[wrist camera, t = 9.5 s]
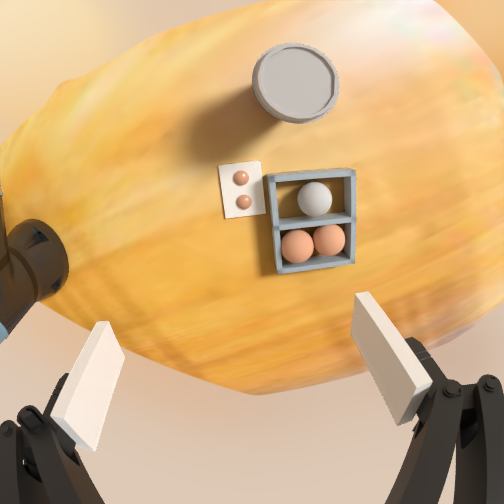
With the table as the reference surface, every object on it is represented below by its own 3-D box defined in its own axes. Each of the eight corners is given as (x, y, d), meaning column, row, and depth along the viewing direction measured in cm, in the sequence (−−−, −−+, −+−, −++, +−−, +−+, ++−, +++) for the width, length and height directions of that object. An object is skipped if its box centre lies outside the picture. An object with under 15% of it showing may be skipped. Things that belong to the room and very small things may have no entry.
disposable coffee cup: (291, 138, 38) (313, 140, 27) (234, 103, 36) (234, 91, 25) (325, 88, 36) (358, 74, 25) (270, 52, 33) (284, 24, 22)
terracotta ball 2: (306, 253, 45) (323, 261, 40) (306, 222, 43) (323, 226, 39) (333, 250, 46) (351, 257, 41) (333, 220, 45) (352, 224, 40)
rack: (274, 265, 46) (277, 274, 44) (266, 173, 40) (269, 176, 38) (348, 255, 46) (354, 263, 44) (348, 167, 41) (355, 170, 38)
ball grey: (295, 212, 43) (302, 223, 38) (293, 180, 41) (300, 187, 36) (326, 209, 43) (337, 219, 38) (325, 178, 41) (336, 184, 36)
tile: (225, 218, 43) (225, 219, 42) (218, 165, 39) (218, 165, 39) (265, 213, 43) (266, 214, 42) (260, 160, 40) (260, 160, 39)
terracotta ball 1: (280, 258, 46) (282, 269, 41) (278, 227, 44) (279, 235, 40) (311, 255, 45) (316, 266, 41) (310, 225, 44) (315, 232, 39)
